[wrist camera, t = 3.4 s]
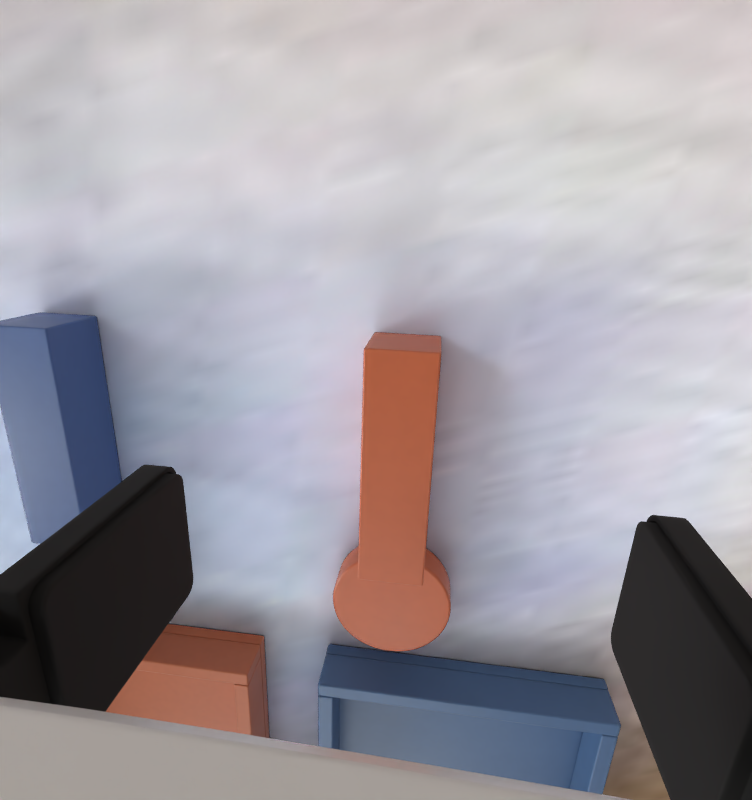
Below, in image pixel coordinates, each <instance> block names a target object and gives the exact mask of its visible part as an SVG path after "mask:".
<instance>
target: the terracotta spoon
mask: <svg viewBox="0 0 752 800" xmlns="http://www.w3.org/2000/svg"><path fill="white" fill-rule="evenodd" d="M440 364H441V336H433V335H416V334H399V333H382V332H375V333H374V334H373V336H372V337H371V339H370V340H369V342H368V344H367V345H366V347H365V348H364V362H363V400H362V438H361V477H360V515H359V546H358V547H356V548H355V549H354V550H353V551H351V552H350V553H349V554H348V556H347V557H346V558H345V560H344V561H343V563H342V565H341V568H340V571H339V574H338V577H337V581H336V584H335V588H334V593H333V603H334V608H335V612H336V614H337V617H338V619H339V620H340V622H341V624H342V625H343V626H344V628H345V629H346V630H347V631H348V632H349V633H350V634H351V635H352V636H354V637H355V638H356V639H358V640H359V641H361V642H363V643H365V644H367V645H369V646H371V647H374V648H377V649H381V650H386V651H409V650H413V649H417V648H420V647H422V646H425V645H427V644H428V643H430V642H432V641H433V640H434V639H436V638H437V637H438V636H439V635H440V633H441V632H442V631H443V630H444V628H445V626H446V624H447V622H448V620H449V616H450V610H451V601H450V582H449V577H448V574H447V572H446V570H445V568H444V566H443V565H442V563H441V562H440V561H439V559H438V558H437V557H436V556H435V555H434V554H433V553H432V552H431V551H429V550H428V549H426V541H427V528H428V516H429V503H430V490H431V478H432V465H433V452H434V440H435V427H436V415H437V402H438V389H439V377H440Z"/></svg>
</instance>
